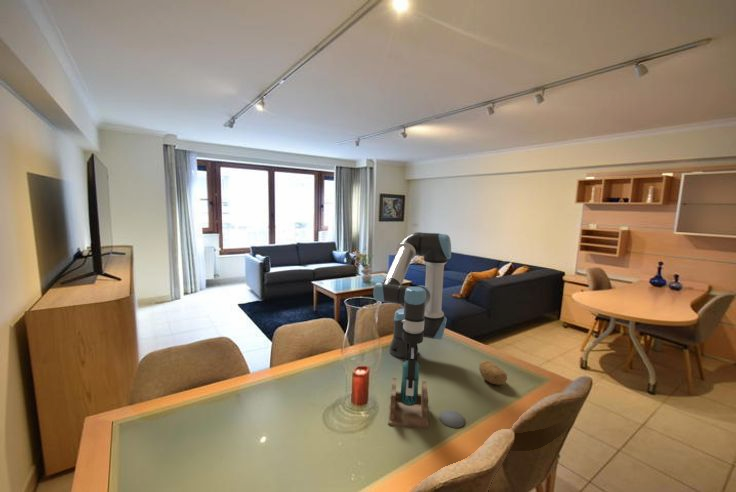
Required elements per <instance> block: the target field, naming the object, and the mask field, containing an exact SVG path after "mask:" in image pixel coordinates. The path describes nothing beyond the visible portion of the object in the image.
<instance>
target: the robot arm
mask: <svg viewBox="0 0 736 492" xmlns="http://www.w3.org/2000/svg"><path fill="white" fill-rule="evenodd" d="M451 242H452V241H451V238H450V236H449V235H448V234H446V233H445V234H443V233H440V232H439V233H436V232H420V231H418V232H414V233H411V234H408V235H407V236H405V237H404V238H402V240H401V241H400V242H399V243H398V244H397V247H396V250H395V251H396V254H395V255H394V258H393V260H392V263H391V264H390V267H389V268H388V271H387V273H386V275H385V278H384V279H383V281H382V282H381V281H380V282H376V283H375V284H374V287H373V293H372V294H373V295H372V296H373V299H374V300H375V301H378V302H382V303H390V304H398V305H403V308H399V309H397V310H396V311H395V312H394V316H393V317H394V318H393V336H392V337H393V338H392V340H391V342H390V344H389V349H388V351H389V353H390V354H391V355H392V356H394V357H395V358H399V359H406V354H407V359H408V373H407V377H405V379H407V382H406V395H407V396H413V393H414V381H415V363H416V362H417V361H416V359H417V360H418V354H419V347H418V344H422V343H423V342H424V341H423V340H424V338H425V339H432V340H442V339H443V336H444V334H445V333H444V332H445V330H446V325H447V320H448V319H447V317H446V316H445V313H444V311H443V310H442V305H443V304H442V302H443V288H444V286H443V285H444V272H445V270H444V269H445V265H446V264H447V263H448V260H450V259H451V258H452V243H451ZM416 256H418V257H423V262H424V263H425V264H426V265H425V280H424V281H425V283H424V285H417V286H411V285H403V282H404V280H405V277H406V275H407V272H408V270H409V267H410V264H411V262H412V260H414V258H415V257H416ZM408 355H409V356H408Z"/></svg>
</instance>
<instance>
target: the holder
mask: <svg viewBox="0 0 736 492" xmlns="http://www.w3.org/2000/svg"><path fill="white" fill-rule="evenodd" d="M391 382H392V383H391V393H390V397H389V408H388V409H389V410H388V422H387V423H388V426H399V427H405V428H412V429H413V428H414V429H415V428H416V429H421V430H429V420H428V412H429V411H428V410H429V394H428V393H429V392H428V385H427V384H428V383H427V381H426V380H422V381H421V393H418V396H417V398H418V399H417V403H416V404H415V405H413V406H407V405H404V404H403V403H402V402H401V400H400V396H401V395H400V393H401V392H400V391H397V377H392V379H391Z"/></svg>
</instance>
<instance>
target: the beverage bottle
mask: <svg viewBox="0 0 736 492" xmlns="http://www.w3.org/2000/svg"><path fill="white" fill-rule="evenodd" d="M408 356H409V355H408ZM417 361H418V358H417V359H416V363H415V381H414V393H413V396H407V395H406V382H407V379H405V377H407V373H408V359H407V354H406V358H405V361H404V362H403V363H402V369H401V370H402V372H401V373H402V374H401V383H400V384H401V385H400V391H399V392H401V393H400V395H401V396H400V400H401V402H402V403H403V404H404V405H407V406H413V405H415V404H416V403H417V399H418V398H417V396H418V394H419V383H420V382H419V381H420V379H419V378H420V364H419V363H418V362H417Z"/></svg>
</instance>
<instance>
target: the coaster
mask: <svg viewBox="0 0 736 492" xmlns="http://www.w3.org/2000/svg"><path fill="white" fill-rule="evenodd" d="M438 415H439V421H440V422H441V423H442V424H443V425H444V426H447V427H449V428H455V429H456V428H461V427H463V426H464V425H465V421H466V420H465V417H464V415H462V414H461V413H459V412H458V411H455V410H448V409H447V410H443V411H441V412H440V413H439V414H438Z"/></svg>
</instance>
